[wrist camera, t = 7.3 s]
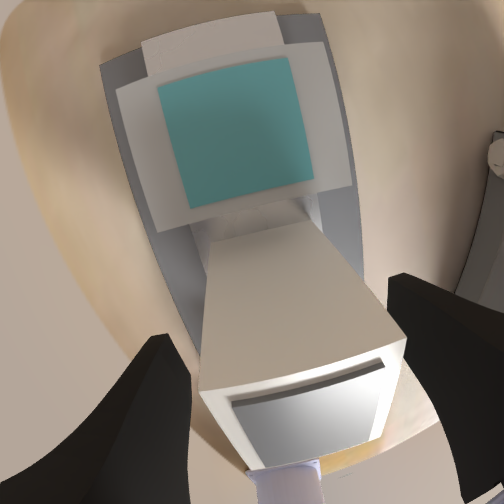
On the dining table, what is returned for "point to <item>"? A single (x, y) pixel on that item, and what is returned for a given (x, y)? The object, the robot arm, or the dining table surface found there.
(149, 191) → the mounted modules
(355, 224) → the plate
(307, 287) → the block
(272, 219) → the din rail
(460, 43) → the dining table surface
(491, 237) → the electrical component
